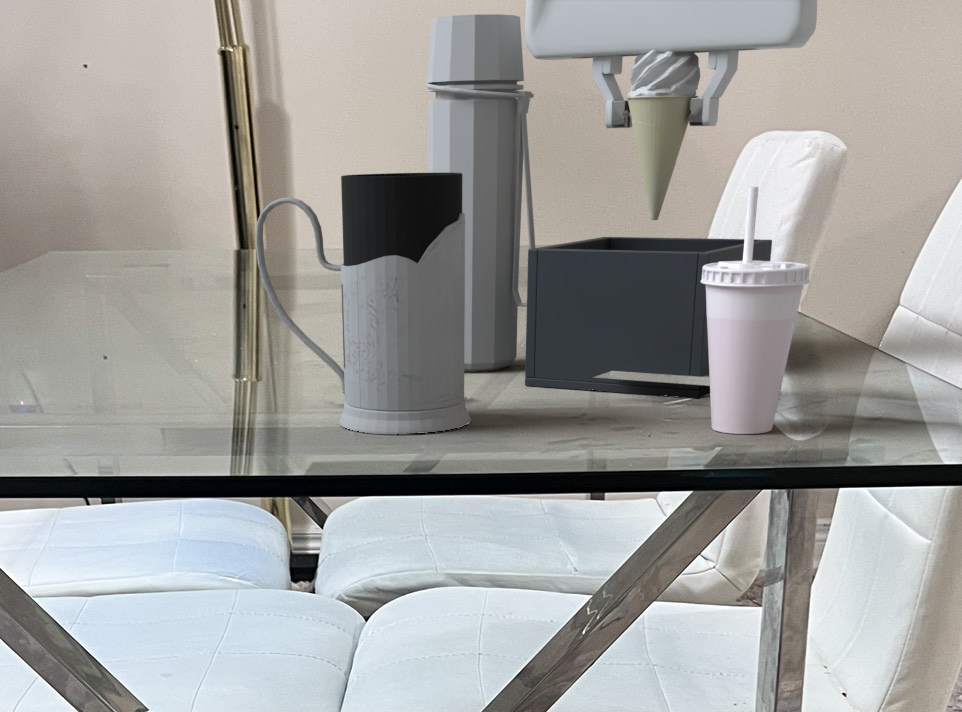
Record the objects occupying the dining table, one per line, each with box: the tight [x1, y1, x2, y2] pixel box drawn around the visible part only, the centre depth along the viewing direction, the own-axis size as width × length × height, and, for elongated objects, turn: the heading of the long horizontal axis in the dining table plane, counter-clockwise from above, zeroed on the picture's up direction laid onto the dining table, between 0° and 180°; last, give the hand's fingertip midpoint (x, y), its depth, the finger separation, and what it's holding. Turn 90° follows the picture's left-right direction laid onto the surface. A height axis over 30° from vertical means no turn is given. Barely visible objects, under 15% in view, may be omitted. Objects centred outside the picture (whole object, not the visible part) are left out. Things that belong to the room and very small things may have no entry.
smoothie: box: [701, 186, 811, 435], centre depth 85 cm, size 6×6×14 cm
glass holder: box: [254, 172, 472, 435], centre depth 90 cm, size 9×14×15 cm, turn 73°
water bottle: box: [425, 13, 536, 373], centre depth 108 cm, size 9×8×25 cm
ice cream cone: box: [625, 50, 701, 221], centre depth 99 cm, size 5×5×15 cm
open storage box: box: [524, 236, 773, 400], centre depth 105 cm, size 14×14×10 cm
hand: (659, 127), depth 99 cm, fingers closed on ice cream cone, 5 cm apart
